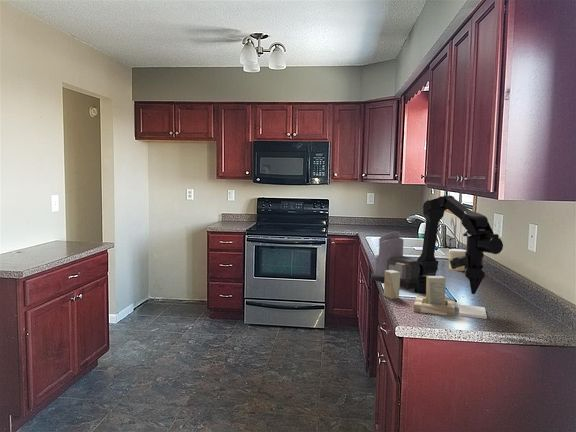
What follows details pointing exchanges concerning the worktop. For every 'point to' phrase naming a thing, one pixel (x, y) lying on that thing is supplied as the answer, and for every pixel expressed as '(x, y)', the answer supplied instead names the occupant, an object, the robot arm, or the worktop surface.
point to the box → (391, 284)
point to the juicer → (394, 260)
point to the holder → (434, 307)
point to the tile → (472, 311)
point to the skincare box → (435, 290)
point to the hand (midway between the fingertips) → (472, 292)
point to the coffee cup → (453, 254)
